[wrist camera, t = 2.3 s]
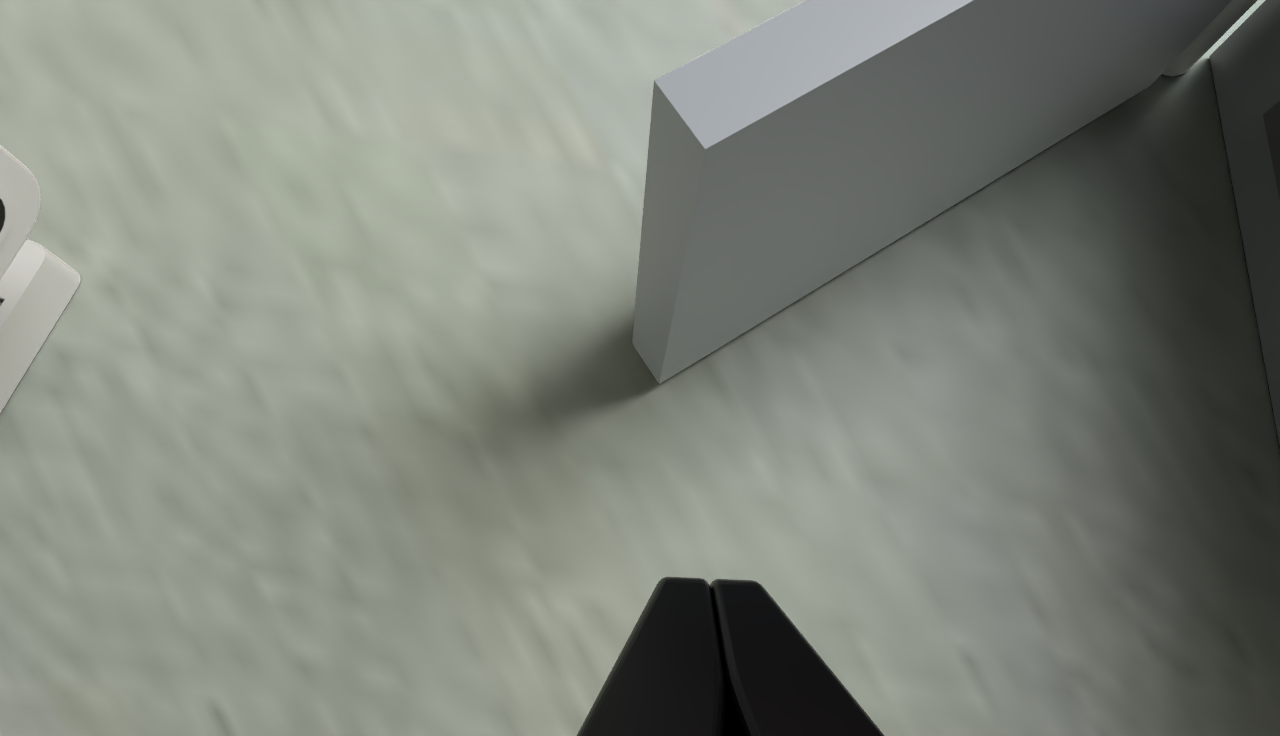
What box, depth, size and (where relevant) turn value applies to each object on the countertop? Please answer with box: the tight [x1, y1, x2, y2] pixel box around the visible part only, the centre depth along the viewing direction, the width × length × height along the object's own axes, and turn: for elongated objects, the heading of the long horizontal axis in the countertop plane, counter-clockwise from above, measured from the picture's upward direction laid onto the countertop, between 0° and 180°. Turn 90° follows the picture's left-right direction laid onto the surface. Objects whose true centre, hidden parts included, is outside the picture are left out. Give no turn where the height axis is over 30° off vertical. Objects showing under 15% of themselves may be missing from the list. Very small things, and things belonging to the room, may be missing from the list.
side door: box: [632, 0, 1232, 384], centre depth 15 cm, size 13×2×9 cm, turn 123°
